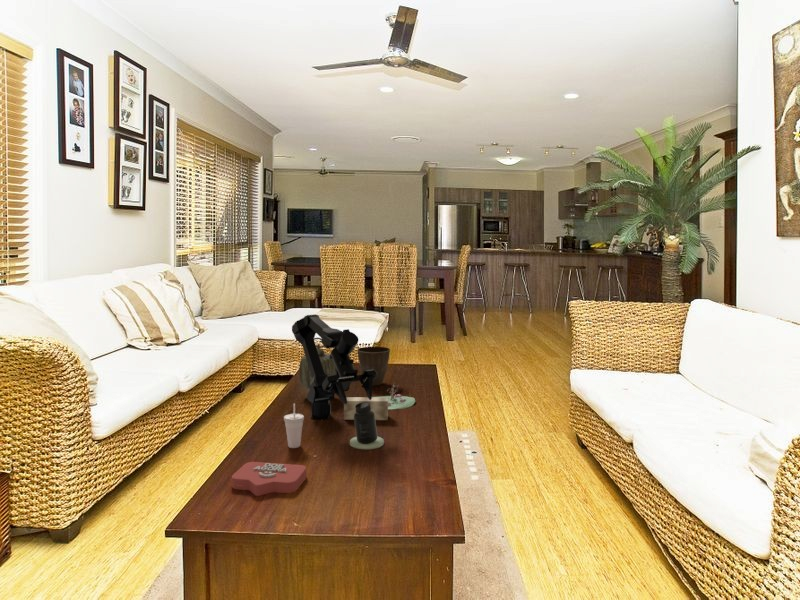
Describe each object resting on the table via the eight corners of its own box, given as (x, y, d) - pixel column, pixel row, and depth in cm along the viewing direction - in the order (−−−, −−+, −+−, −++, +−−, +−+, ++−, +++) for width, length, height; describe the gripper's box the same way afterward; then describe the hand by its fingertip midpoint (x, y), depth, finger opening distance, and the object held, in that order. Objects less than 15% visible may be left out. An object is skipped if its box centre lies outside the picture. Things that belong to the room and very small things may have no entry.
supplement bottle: (382, 437, 187) (377, 402, 184) (368, 446, 182) (364, 411, 179) (365, 432, 191) (361, 399, 188) (352, 441, 186) (347, 407, 183)
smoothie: (287, 450, 180) (286, 407, 178) (281, 444, 185) (281, 401, 184) (307, 447, 182) (306, 404, 181) (300, 441, 188) (300, 399, 187)
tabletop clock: (338, 396, 241) (338, 338, 239) (324, 401, 234) (324, 341, 231) (312, 391, 249) (311, 334, 247) (297, 396, 242) (297, 337, 239)
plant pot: (353, 386, 258) (353, 351, 256) (361, 379, 273) (361, 345, 271) (386, 388, 256) (386, 353, 254) (392, 380, 270) (392, 347, 269)
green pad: (348, 449, 181) (348, 446, 181) (351, 437, 192) (351, 435, 192) (383, 449, 181) (383, 447, 181) (384, 437, 192) (384, 435, 192)
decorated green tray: (352, 411, 224) (352, 388, 223) (355, 396, 244) (355, 375, 243) (416, 411, 224) (416, 388, 223) (413, 396, 245) (414, 375, 244)
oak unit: (343, 419, 211) (343, 400, 210) (345, 415, 216) (345, 396, 216) (387, 420, 211) (387, 401, 210) (387, 415, 216) (388, 397, 216)
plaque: (223, 480, 149) (247, 459, 164) (224, 495, 149) (247, 472, 164) (290, 485, 146) (308, 463, 161) (290, 500, 147) (308, 476, 161)
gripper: (358, 372, 208) (373, 409, 200) (310, 378, 198) (325, 418, 190) (369, 354, 201) (386, 392, 193) (321, 360, 191) (336, 400, 183)
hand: (358, 401), depth 190 cm, fingers open, 9 cm apart
